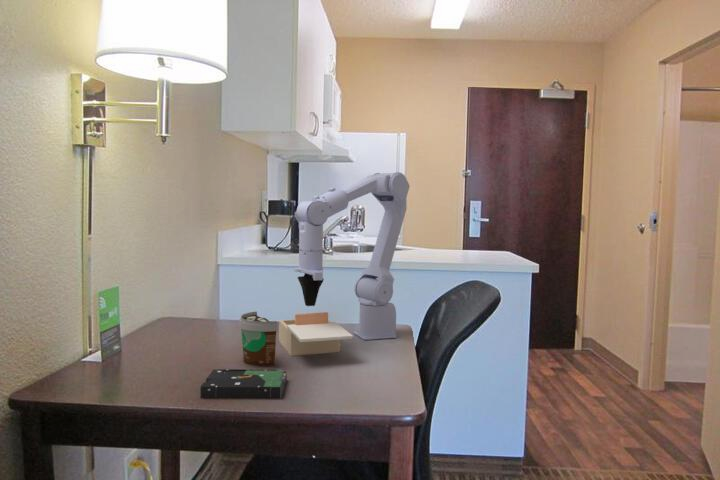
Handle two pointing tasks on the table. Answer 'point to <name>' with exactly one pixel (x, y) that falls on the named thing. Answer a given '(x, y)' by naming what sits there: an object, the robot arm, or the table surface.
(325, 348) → the mailer box
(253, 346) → the food container
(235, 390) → the disk drive
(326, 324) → the lid
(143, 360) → the table surface
